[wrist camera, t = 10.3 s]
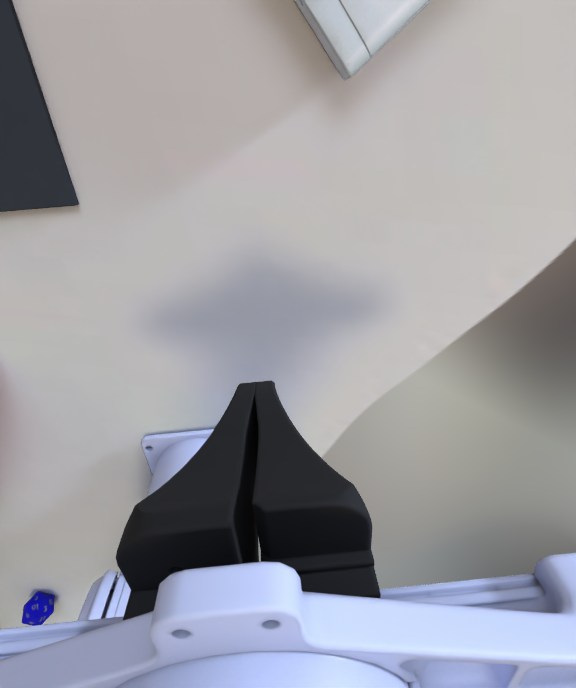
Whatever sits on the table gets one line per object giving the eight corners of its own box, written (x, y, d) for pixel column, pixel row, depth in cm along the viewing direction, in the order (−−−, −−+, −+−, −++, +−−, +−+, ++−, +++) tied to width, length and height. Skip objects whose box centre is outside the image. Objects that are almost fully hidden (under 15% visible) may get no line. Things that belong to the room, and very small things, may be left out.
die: (56, 585, 38) (57, 620, 37) (52, 587, 40) (53, 620, 38) (23, 596, 36) (23, 633, 35) (20, 597, 38) (20, 633, 37)
